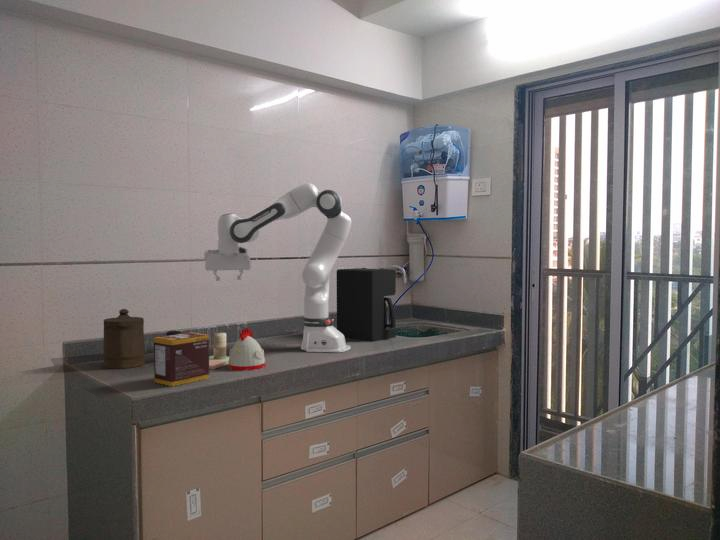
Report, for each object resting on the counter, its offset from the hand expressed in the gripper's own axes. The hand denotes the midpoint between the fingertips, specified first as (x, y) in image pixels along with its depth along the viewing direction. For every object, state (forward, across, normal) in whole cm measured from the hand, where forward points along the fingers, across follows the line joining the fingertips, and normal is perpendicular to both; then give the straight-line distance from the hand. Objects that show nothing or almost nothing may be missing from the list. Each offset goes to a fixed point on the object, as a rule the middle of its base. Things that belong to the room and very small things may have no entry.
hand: (228, 280), depth 256 cm
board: (+31, -11, -31) cm, 45 cm away
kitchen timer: (+32, 0, -42) cm, 53 cm away
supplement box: (+31, -24, -57) cm, 69 cm away
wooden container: (+31, -44, -21) cm, 58 cm away
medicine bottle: (+31, -25, -18) cm, 44 cm away
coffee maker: (+31, +71, +6) cm, 78 cm away
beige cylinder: (+30, -8, -28) cm, 42 cm away
